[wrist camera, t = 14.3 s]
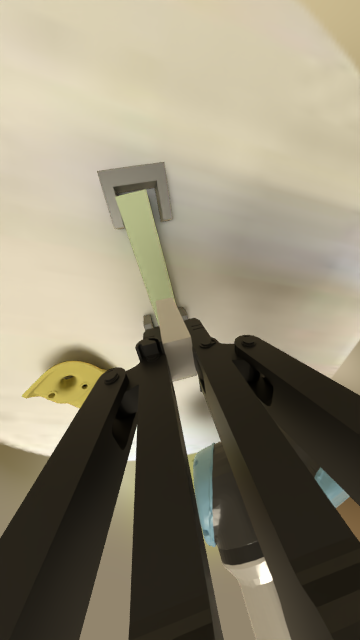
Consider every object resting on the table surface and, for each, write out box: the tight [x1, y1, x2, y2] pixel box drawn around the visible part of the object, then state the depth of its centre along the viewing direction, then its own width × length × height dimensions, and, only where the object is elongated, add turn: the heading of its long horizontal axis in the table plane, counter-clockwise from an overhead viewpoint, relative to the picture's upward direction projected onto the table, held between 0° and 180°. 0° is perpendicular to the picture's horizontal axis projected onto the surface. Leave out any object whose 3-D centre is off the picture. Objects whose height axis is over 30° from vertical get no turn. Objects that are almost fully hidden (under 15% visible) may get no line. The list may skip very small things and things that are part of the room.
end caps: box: [97, 162, 188, 331], centre depth 26 cm, size 25×7×4 cm, turn 9°
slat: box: [115, 189, 176, 325], centre depth 25 cm, size 20×4×5 cm, turn 13°
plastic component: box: [22, 361, 107, 408], centre depth 34 cm, size 20×7×10 cm
